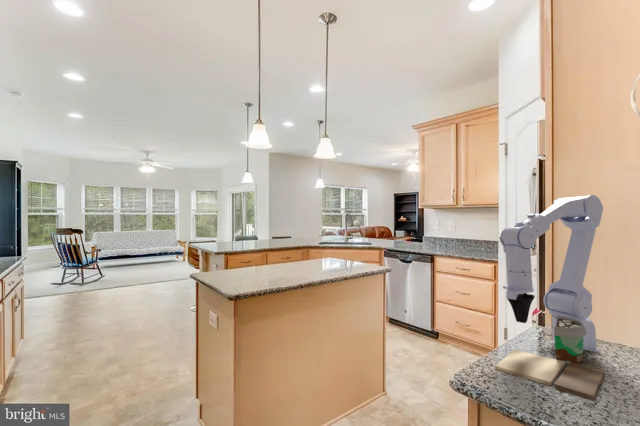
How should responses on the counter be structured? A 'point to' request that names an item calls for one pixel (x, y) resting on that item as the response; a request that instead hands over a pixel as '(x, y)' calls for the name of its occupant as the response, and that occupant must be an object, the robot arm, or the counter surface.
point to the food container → (569, 340)
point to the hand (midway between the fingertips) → (521, 321)
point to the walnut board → (580, 380)
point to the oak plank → (531, 366)
